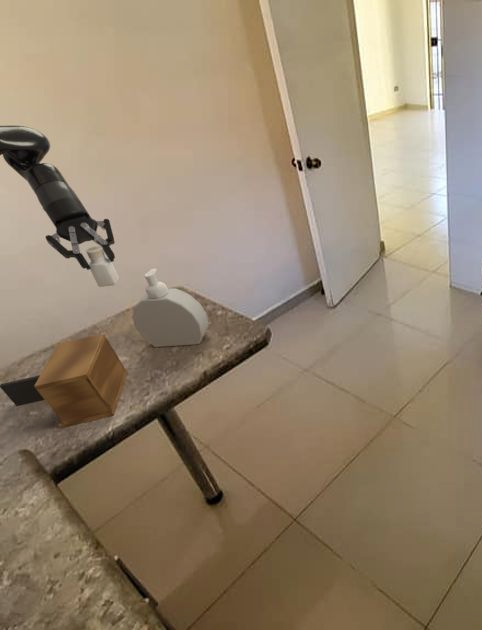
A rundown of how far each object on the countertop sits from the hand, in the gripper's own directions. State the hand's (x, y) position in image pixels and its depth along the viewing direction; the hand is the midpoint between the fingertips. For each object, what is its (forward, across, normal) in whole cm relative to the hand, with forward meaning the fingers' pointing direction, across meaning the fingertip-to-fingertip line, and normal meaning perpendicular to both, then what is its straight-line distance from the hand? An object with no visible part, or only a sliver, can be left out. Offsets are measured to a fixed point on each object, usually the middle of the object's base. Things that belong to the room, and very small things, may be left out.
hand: (100, 263), depth 106 cm
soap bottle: (+25, +6, +4) cm, 26 cm away
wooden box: (+29, -15, 0) cm, 33 cm away
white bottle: (+3, 0, +6) cm, 7 cm away
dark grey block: (+27, -24, 0) cm, 36 cm away
